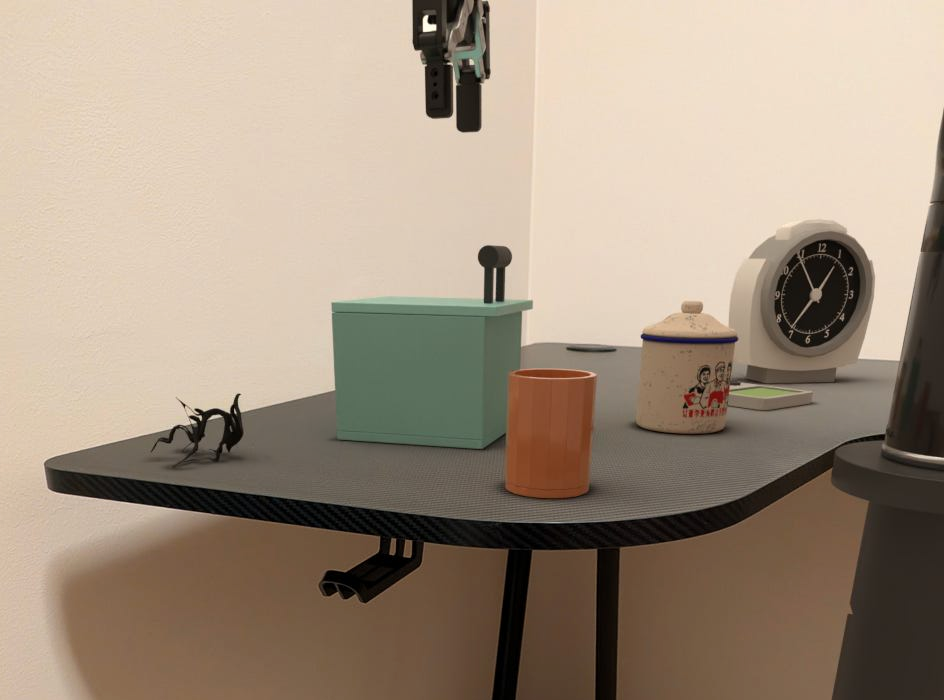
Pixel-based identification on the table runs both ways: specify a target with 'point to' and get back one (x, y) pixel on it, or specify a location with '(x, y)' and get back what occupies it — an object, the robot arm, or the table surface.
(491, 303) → the lid
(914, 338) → the robot arm
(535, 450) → the cup
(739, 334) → the alarm clock
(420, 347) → the box
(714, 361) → the teacup with lid
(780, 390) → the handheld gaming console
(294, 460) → the table surface
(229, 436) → the creature
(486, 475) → the table surface
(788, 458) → the table surface
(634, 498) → the table surface
